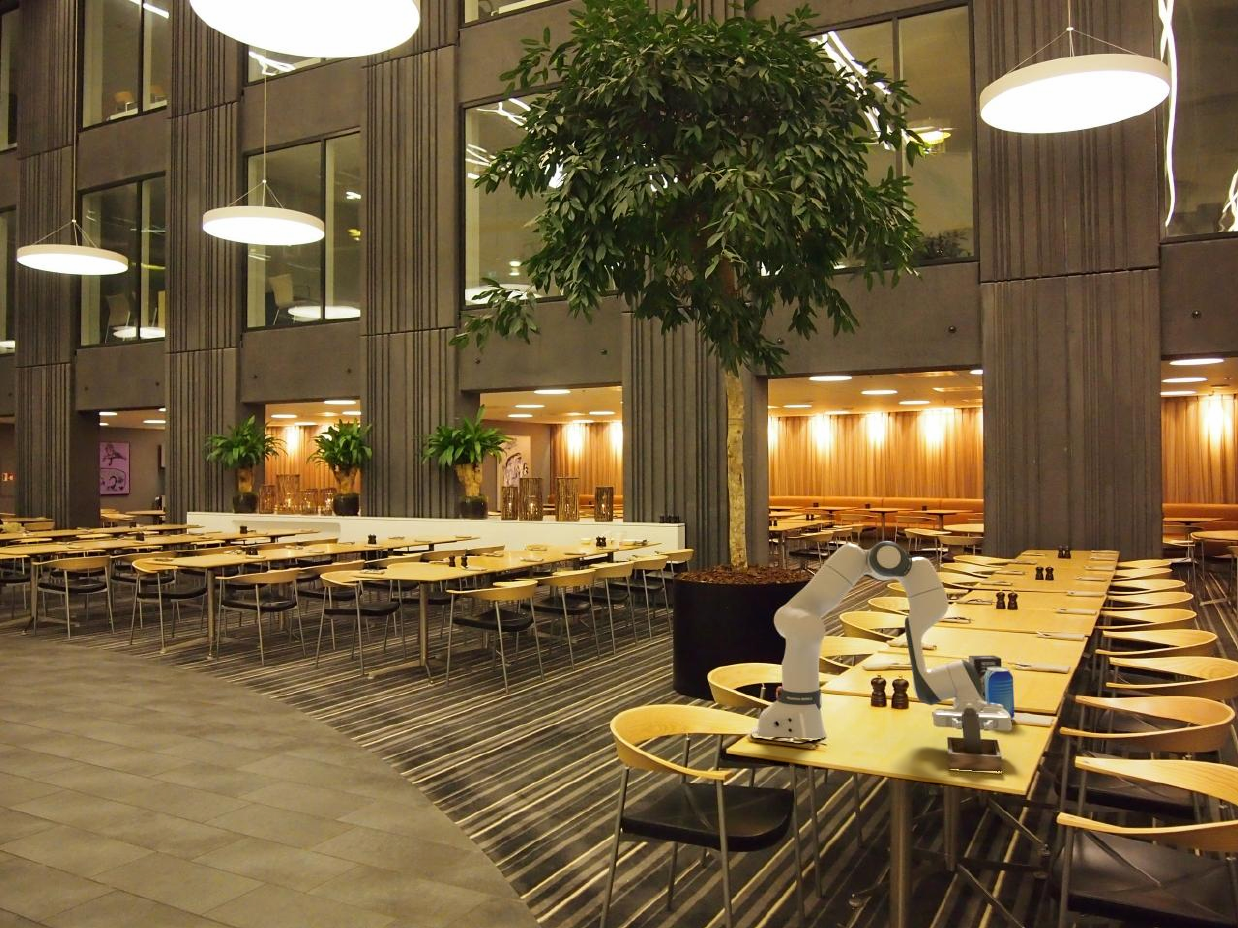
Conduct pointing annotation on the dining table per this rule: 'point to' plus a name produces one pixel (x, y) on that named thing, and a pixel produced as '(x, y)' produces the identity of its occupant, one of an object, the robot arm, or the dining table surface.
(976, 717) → the pepper mill
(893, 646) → the dining table surface
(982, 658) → the coffee box
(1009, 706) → the beer can
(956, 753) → the box
